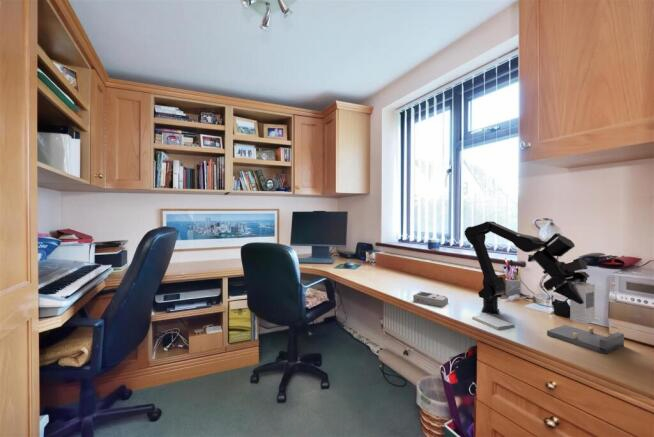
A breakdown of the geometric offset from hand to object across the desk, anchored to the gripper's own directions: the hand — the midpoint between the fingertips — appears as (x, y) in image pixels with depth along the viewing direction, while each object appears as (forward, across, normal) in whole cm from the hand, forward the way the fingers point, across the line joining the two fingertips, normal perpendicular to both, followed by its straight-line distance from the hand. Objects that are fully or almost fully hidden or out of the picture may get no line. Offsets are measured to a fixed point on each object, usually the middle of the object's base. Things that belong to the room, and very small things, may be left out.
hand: (587, 302), depth 95 cm
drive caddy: (+4, 0, +6) cm, 7 cm away
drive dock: (+9, 0, +10) cm, 13 cm away
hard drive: (-8, -12, +28) cm, 31 cm away
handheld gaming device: (-30, -13, +51) cm, 60 cm away
